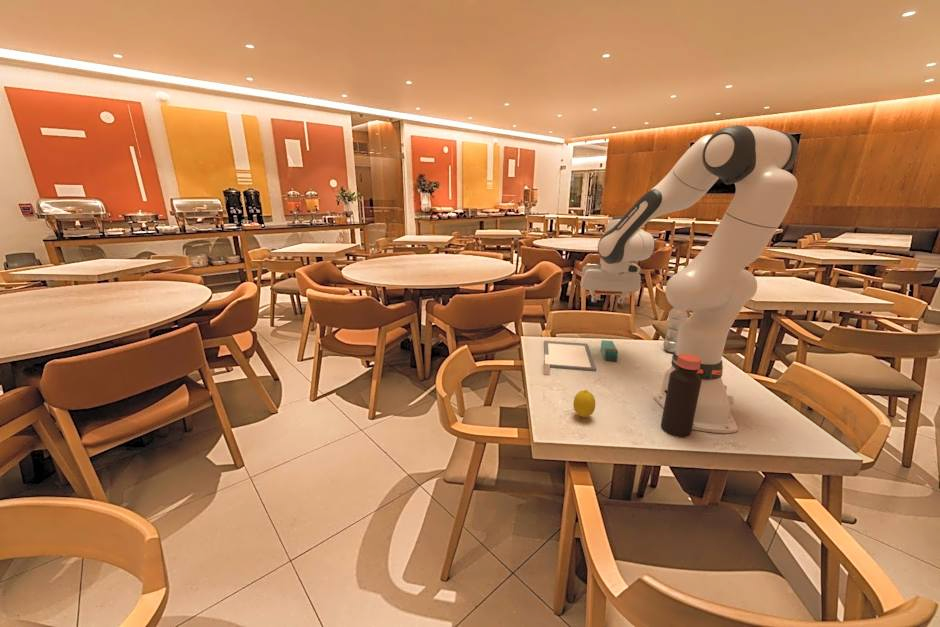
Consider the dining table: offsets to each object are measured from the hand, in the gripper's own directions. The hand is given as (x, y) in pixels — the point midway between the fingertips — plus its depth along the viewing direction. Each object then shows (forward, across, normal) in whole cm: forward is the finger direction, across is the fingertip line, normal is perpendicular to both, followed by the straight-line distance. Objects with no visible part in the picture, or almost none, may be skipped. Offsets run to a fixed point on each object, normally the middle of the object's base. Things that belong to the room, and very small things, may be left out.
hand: (606, 302), depth 137 cm
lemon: (+18, -16, -46) cm, 52 cm away
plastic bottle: (+20, +28, +4) cm, 35 cm away
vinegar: (+18, +7, -50) cm, 54 cm away
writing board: (+20, -12, -5) cm, 24 cm away
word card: (+20, -22, -18) cm, 34 cm away
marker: (+20, +3, -3) cm, 20 cm away
